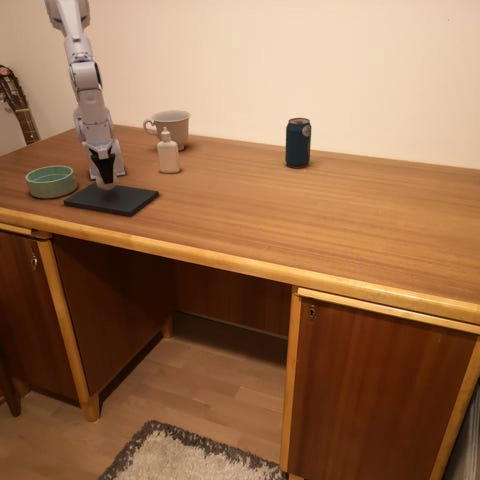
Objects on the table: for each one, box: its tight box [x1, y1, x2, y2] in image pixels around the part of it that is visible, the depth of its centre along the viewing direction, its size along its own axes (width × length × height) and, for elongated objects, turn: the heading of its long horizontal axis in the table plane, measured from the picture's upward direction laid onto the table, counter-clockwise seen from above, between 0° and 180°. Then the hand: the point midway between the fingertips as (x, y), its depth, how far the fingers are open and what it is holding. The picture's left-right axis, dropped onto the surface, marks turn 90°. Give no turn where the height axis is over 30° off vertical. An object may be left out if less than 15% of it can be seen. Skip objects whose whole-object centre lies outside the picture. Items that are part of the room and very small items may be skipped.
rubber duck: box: [95, 168, 119, 190], centre depth 113 cm, size 5×7×8 cm
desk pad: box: [63, 181, 160, 218], centre depth 117 cm, size 20×13×1 cm, turn 66°
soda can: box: [284, 117, 313, 169], centre depth 129 cm, size 7×7×12 cm
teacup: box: [142, 109, 192, 152], centre depth 144 cm, size 12×15×10 cm
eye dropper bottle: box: [156, 127, 181, 174], centre depth 129 cm, size 4×6×12 cm
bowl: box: [25, 165, 78, 200], centre depth 123 cm, size 12×12×4 cm
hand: (107, 179), depth 114 cm, fingers closed on rubber duck, 5 cm apart
